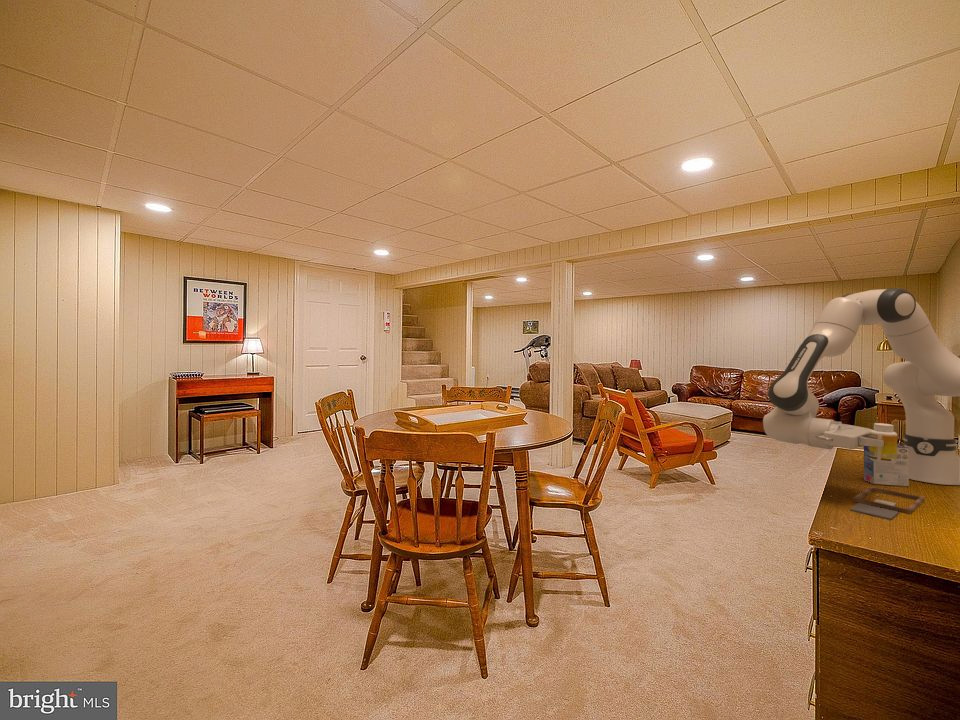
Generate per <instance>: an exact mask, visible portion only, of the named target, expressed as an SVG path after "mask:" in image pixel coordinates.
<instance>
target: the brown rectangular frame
mask: <svg viewBox="0 0 960 720" xmlns="http://www.w3.org/2000/svg"><path fill="white" fill-rule="evenodd" d="M872 491H873V492H875V491H876V493H881V494H886V495H890V496H896V497H900V496H901V498H905V499H906V498H907V499H911V500H914V502H913V503H911V504H910V505H909V506H908V507H907V508H905V507H901V506H900V507H899V506H897V505H895V506H892V505H887V504H883V503H878V502H874V500H873V501H872V500H870V499H864V498H865V497H867V496H868V495H869V494H872ZM864 496H865V497H864ZM861 498H862V499H861ZM853 502H855V503H857V504H858V503H863V504H866V505H867V504H868V505H873V506H875V507H876V506H877V507H882V508H884V509H885V508H886V509H890V510H893V511H899V513H904V514H908V515H912V513H913V512H915V510H916V509H917V508H918V507H919V506H920V505H922V504H923V503H924V502H925V496H919V495H915V494H910V493H906V492H905V493H904V492H900V491H894V490H889V489H884V488H879V487H873V486H869V487H868V488H866V489H864V490H863V491H862V492H859V493H858V494H856V495H855V496H853V497H852V503H853Z"/></svg>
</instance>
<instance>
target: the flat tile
mask: <svg viewBox="0 0 960 720" xmlns="http://www.w3.org/2000/svg"><path fill="white" fill-rule="evenodd" d="M873 502H878V503H883V504H887V505H892V506H897V503H896V502H893V501H892V502H891V501H887V500H883V499H878V498H876V499H875V500H873Z"/></svg>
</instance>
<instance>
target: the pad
mask: <svg viewBox="0 0 960 720" xmlns="http://www.w3.org/2000/svg"><path fill="white" fill-rule="evenodd" d="M849 510H850V511H851V512H854V513H855V512H856V513H859V514H863V515H868V516H871V515H872V517H875V516H877V517H876V518H880V517H881V519H884V518H885V520H888V519H889V521H892V520H893V519H894V518H895V517H896V516H898V515H899V514H900V512H898V511H894V510H889V509H885V508H880V507H876V506H871V505H867V504H862V503H858V502H857V504H856V505H853V506H852V507H850V509H849Z"/></svg>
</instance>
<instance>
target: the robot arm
mask: <svg viewBox="0 0 960 720" xmlns="http://www.w3.org/2000/svg"><path fill="white" fill-rule="evenodd" d="M879 324H880V326H881V329H882V332H883V334H884V335H885V337H886V339H887V342H888V344H889V345H890V348H891V351H892V352H893V354H895V355H896V356H897V357H899V358H901V359H903V360H905V361H901V362H900V361H899V362H895V363H891V364H890V365H888V366H887V367H886V368H885V370H884V372H883V376H882V377H883V382H884V383H885V385H886V386H887V387H888V388H889V389H890V390H891V391H893V392H894V393H895V395H897V397H898V398H899V400H900V402H901V403H902V406H903V409H904V413H905V433H904V434H903V439H902V440H903V444H904V445H903V446H904V447H907V448H909V480H913V481H918V482H921V483H922V482H924V483H928V484H934V485H935V484H937V485H948V486H960V455H958V454H957V452H956V449H957V442H956V439H955V416H954V414H953V412H952V411H950V410H949V409H947V408H945V407H944V406H942V405H941V404H940V403H939V401H938V400H937V398H936V396H941V397H942V396H943V397H954V398H955V397H960V357H959V356H957V355H956V354H954V353H953V352H952V351H950V350H949V349H948V348H947V347H946V346H945V345H944V344H943V343H942V342H941V340H940V338H939V337H938V335H937V333H936V332H935V329H934V328H933V326H932V324H931V321H930V320H929V318H928V316H927V314H926V312H925V311H924V309H923V308H922V306H920V304H919V303H918V302H917V300H916V299H915V297H914V295H913V294H912V293H911V292H910V291H908V290H907V289H904V288H897V287H896V288H893V287H892V288H891V287H890V288H886V289H885V288H884V289H882V288H881V289H870V290H865V291H860V292H856V293H855V292H854V293H847V294H844V295H842V296H840V297H839V296H838V297H835V298H833V299H831V300H830V301H829V302H828V303H827V304H826V305H825V306H824V307H823V309H822V310H821V312H820V313H819V314H818V316H817V318H816V320H815V322H814V323H813V325H812V327H811V330H810V332H809V334H808V335H807V337H806V338H805V339H804V340H803V342H802V343H801V344H800V345H799V347H798V349H797V350H796V352H795V354H794V356H793V357H792V358H791V360H790V361H789V363H788V364H787V366H786V368H785V370H784V371H783V372H782V373H781V375H779V376H778V377H777V378H775V379H774V381H773V382H772V383H771V384H770V385H769V387H768V390H767V397H768V399H769V401H770V403H771V404H772V405H773V406H775V407H774V408H773V409H772V410H771V411H769V412H768V413H767V414H764V416H763V418H762V428H763V431H764V433H765V435H766V436H767V437H768V438H769V439H772V440H775V441H779V442H782V443H788V444H794V445H798V444H800V445H804V446H805V445H806V446H809V447H812V448H818V449H819V448H820V449H824V450H833V448H835V447H836V448H837V447H838V448H843V449H848V450H855V449H857V448H860V447H864V446H877V447H883V446H885V441H884V440H879V439H870V431H871V430H873V429H871V428H868V427H863V426H857V425H851V424H847V423H846V424H845V423H842V421H838V420H834V419H829V418H821V417H817V415H818V413H819V409H820V402H819V400H818V398H817V397H816V396H815V394H814V393H813V392H812V391H810V389H809V386H808V383H809V379H810V377H811V375H812V374H813V373H814V371H815V369H816V367H817V365H818V364H819V362H820V361H821V360H822V359H823V358H826V357H829V358H830V357H839V356H840V355H843V354H845V353H846V352H847V350H848V349H849V347H850V346H851V345H852V344H853V342H854V339H856V338H855V337H856V336H857V333H858V331H859V330H860V326H874V325H879Z"/></svg>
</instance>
